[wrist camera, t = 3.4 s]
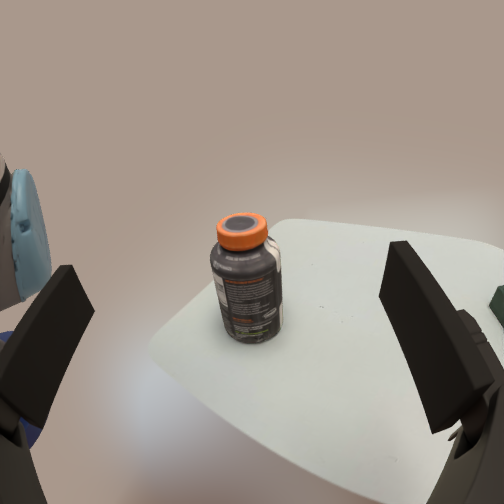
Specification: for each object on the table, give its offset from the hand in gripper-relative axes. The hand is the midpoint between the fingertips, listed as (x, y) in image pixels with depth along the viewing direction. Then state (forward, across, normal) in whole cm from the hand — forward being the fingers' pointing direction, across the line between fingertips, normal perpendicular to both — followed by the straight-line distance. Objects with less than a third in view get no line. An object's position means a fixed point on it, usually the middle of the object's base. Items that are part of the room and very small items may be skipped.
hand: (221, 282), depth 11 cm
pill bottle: (+12, 0, -15) cm, 19 cm away
